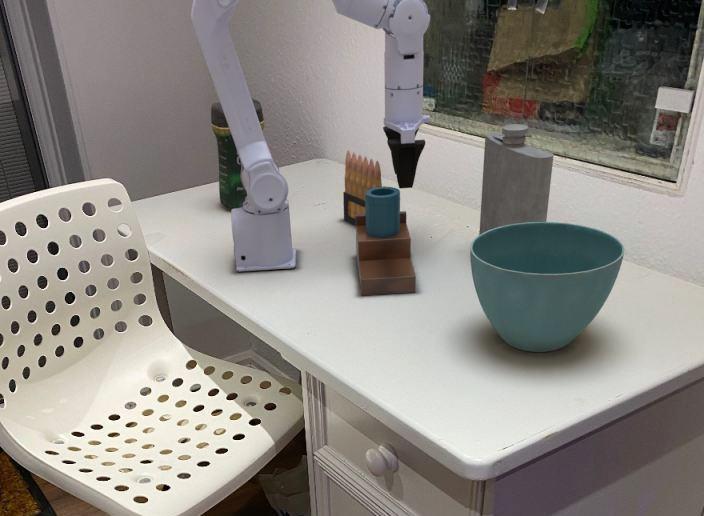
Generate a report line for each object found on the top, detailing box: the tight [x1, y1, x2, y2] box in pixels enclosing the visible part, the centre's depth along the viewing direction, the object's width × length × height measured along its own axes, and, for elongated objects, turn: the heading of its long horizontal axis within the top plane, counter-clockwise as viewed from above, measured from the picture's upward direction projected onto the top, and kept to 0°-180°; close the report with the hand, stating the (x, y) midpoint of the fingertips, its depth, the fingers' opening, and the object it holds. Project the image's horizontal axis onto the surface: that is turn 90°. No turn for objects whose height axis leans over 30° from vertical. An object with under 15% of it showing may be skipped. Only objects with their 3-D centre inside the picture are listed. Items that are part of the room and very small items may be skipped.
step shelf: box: [355, 210, 417, 296], centre depth 125 cm, size 8×16×7 cm, turn 1°
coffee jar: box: [210, 97, 265, 210], centre depth 153 cm, size 10×8×19 cm
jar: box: [365, 186, 401, 237], centre depth 124 cm, size 5×5×6 cm
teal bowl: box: [469, 221, 625, 353], centre depth 103 cm, size 18×18×12 cm
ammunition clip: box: [342, 149, 383, 227], centre depth 141 cm, size 11×2×12 cm, turn 31°
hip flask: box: [478, 123, 555, 236], centre depth 121 cm, size 16×4×20 cm, turn 19°
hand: (403, 180), depth 130 cm, fingers open, 7 cm apart
